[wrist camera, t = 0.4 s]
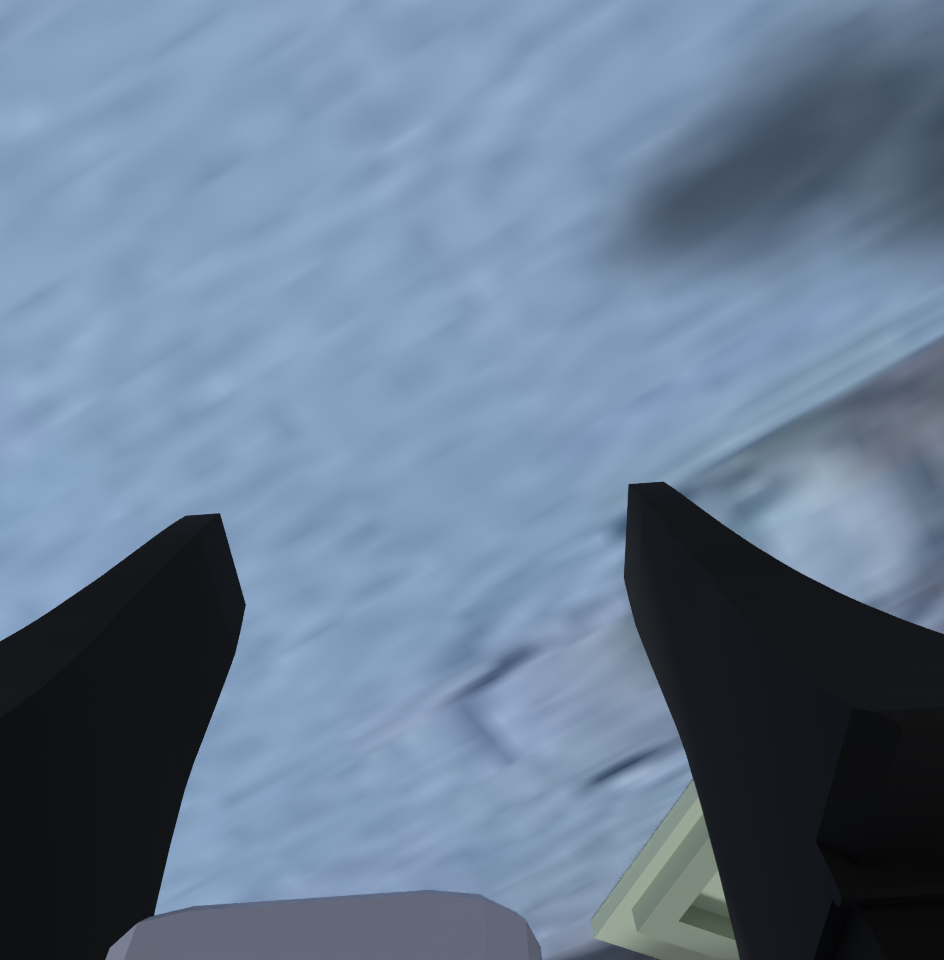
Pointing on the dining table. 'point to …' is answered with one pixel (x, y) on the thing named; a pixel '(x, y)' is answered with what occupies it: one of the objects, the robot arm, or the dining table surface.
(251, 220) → the dining table surface
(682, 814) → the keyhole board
